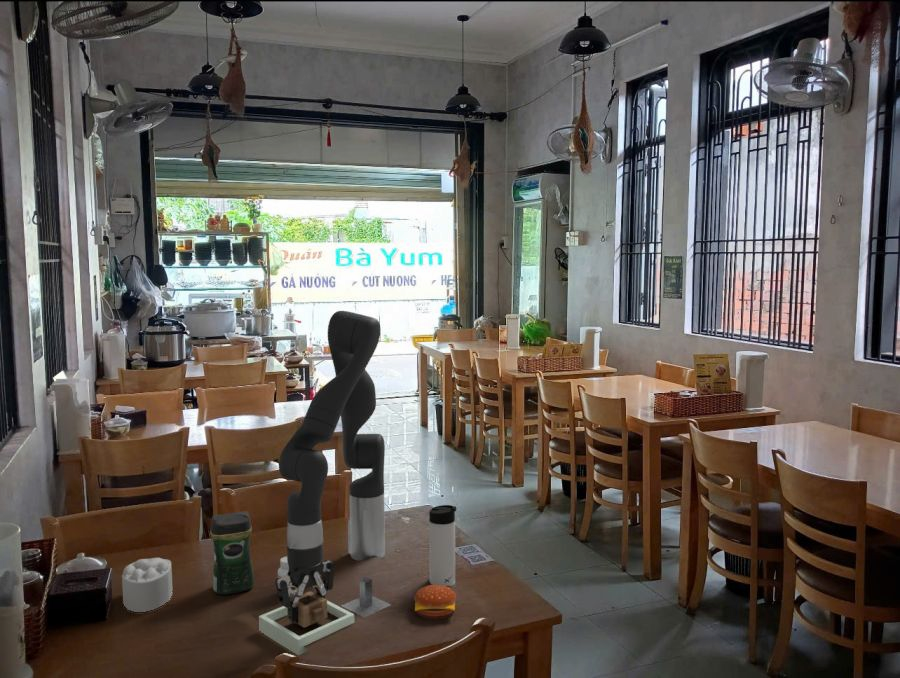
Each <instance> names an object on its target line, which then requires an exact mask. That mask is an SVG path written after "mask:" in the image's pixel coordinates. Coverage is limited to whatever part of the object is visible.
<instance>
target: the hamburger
mask: <svg viewBox="0 0 900 678" xmlns="http://www.w3.org/2000/svg"><path fill="white" fill-rule="evenodd" d="M451 588H452V587H451ZM451 588H450V586H443V585H433V584H428V585H426V586H423V587H420V588H419V589H418V590H417V591H416V593H415V594H414V595H413V599H414V601H415V603H414V612H416V614H417V615H418V616H419V617H422V618H424V619H428V620H434V621H435V620H443V619H447V618H449V617H451V616H452V615H453V614H454V613H455V611H456V607H457V605H456V603H457V602H456V599H457V594H456V593H455V591H454V590H453V589H451Z"/></svg>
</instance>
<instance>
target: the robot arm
mask: <svg viewBox="0 0 900 678" xmlns="http://www.w3.org/2000/svg"><path fill="white" fill-rule="evenodd" d="M380 338H381V323H380V321H379V320H378V319H377V318H375V317H373V316H369V315H364V314H361V313H356V312H352V311H347V310H338V311H336V312H334V313H333V314H332V315H331V317H330V319H329V322H328V325H327V342H328V343H327V344H328V348H329V352H330V355H331V356H330V357H331V360H332V364H333V368H334V372H335V376H334V377H333V378H332V379H330V381H328V382H326V383H325V385H323V386H322V387H321V388H319V390H318V391H317V392H316V393H315V394H314V396H313V397H312V399H311V401H310V403H309V406H308V408H307V411H306V414H305V415H304V418H303V420H302V422H301V425H300V426H299V427H298V428H297V430H296V431H295V432H294V434H293V435H292V437H291V438H290V439H289V441H288V442H287V443H286V444H285V445H284V447H283V449H282V451H281V453H280V456H279V458H278V471H279V473H280V475H281V476H282V477H283V479H286V480H290V481H295V482H298V483H299V482H300V483H301V487H300V490H297V491H293V492H292V493H290V494H289V496H288V497H287V500H286V501H287V502H286V504H287V505H286V509H287V511H286V512H287V513H286V514H287V526H286V556H287V562H288V566H289V571H288V573H287V576H285V577H283V578H281V579H280V578H278V577H277V578H275V580H274V581H275V582H274V583H275V589H276V595H277V601H278V604H279V605H280V606H282V607H283V606H284V607H286V608H288V617H287V620H288V621H290V622H291V623H293V624H297V623H298V606H297V604H298V601H299V598H300V597H301V596H302V594H304V591H305V590H307V589H308V588H312V587H313V590H314V591H315V594H317V595H319V596H321V597H323V598H325V599H326V594H327V592H328V591H330V590H331V591H332V589H333V588H334V587H333V586H334V577H335V567H336V563H335V562H333V561H331V560H329V559H325V560H324V532H323V531H324V529H323V522H322V497H323V495H324V490H325V485H326V482H327V478H328V474H329V473H328V472H329V464H328V459H327V457H326V455H325V454H324V453H323V452H322V451H320V450H318V449H314V448H315V447H316V446H317V445H318V444H321V443H327V442H330V440H331V439H332V437H333V436H334V434H335V430H336V429H337V426H338V423H339V421H340V419H341V430H342V432H341V433H342V454H343V461H344V464H345V466H346V467H347V468H349V469H352V470H364V469H365V470H366V469H367V470H370V469H371V472H369V473H368V474H366V475H364V476H362V477H359V478H356V479H355V480H353V481H351V482H350V484H349V519H348V520H347V531H348V532H347V534H348V535H347V541H348V542H347V543H348V544H347V547H348V549H347V551H348V552H347V553H348V554H349V555H350V557H351V559H352V560H355V561H356V562H360V561H364V560H366V559H369V558H371V557H376V556H377V557H378V558H381V559H383V558H384V557H385V555H386V534H385V533H386V531H385V530H386V528H385V526H386V525H385V516H386V515H385V472H384V471H385V451H386V447H385V439H384V436H383V434H380V433H359V431H360V429H362V427H363V426H364V425H366V423H367V421H369V420H370V419H371V417H372V416H373V414H374V413H375V410H376V409H377V408H376V406H377V396H376V395H377V394H376V393H377V392H376V387H375V386H376V385H375V383H374V381H373V379H372V377H371V375H370V373H368V371H367V370H366V368H367V366H368V365H369V362H370V361H371V359H372V357H373V355H374V353H375V351H376V350H377V346H378V345H379V341H380ZM321 574H322V578H321ZM289 581H290V582H291V583H290V586H289ZM288 587H289V589H288ZM295 587H296V588H298V590H295ZM288 592H289V594H288Z"/></svg>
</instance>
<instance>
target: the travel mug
mask: <svg viewBox="0 0 900 678" xmlns="http://www.w3.org/2000/svg"><path fill="white" fill-rule="evenodd" d="M456 511H457V506H454V505H450V504H442V505H437V506H434V507H432V508H431V509H430V510H429V514H428V516H429V519H428V532H429V533H428V540H429V541H428V545H429V546H428V547H429V548H428V551H429V552H428V553H429V554H428V555H429V560H428V561H429V562H428V563H429V566H428V567H429V572H428V573H429V576H428V577H429V583H430V585H443V586H446V587H451V588H455V587H456V518H455V516H456V514H455V513H456Z"/></svg>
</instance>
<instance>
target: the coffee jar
mask: <svg viewBox="0 0 900 678" xmlns="http://www.w3.org/2000/svg"><path fill="white" fill-rule="evenodd" d="M210 524H211V525H210V531H209V532H210V537H211V540H212V542H213V571H212V589H213V591H214V592H215V593H216V594H218V595H230V594H235V593H241V592H246V591H249V590H250V589H252V588H253V587H254V586H255V576H254V568H253V567H254V566H253V561H252V555H251V546H250V537H251V534H252V531H253V530H252V523H251V518H250V515H249V512H248V511H246V510H244V511H237V512H229V513H224V514H222V513H221V514H214V515H212V517H211V521H210Z"/></svg>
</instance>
